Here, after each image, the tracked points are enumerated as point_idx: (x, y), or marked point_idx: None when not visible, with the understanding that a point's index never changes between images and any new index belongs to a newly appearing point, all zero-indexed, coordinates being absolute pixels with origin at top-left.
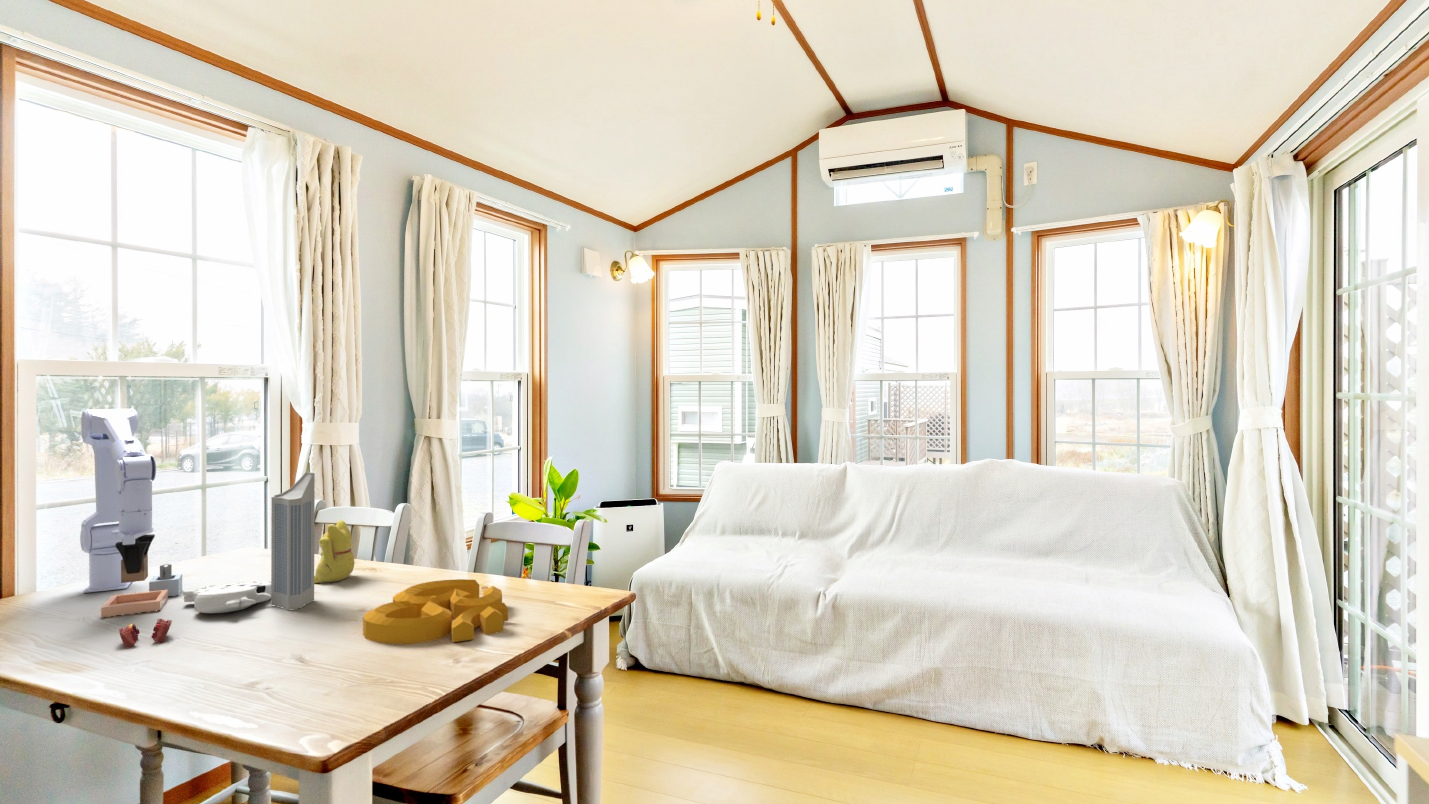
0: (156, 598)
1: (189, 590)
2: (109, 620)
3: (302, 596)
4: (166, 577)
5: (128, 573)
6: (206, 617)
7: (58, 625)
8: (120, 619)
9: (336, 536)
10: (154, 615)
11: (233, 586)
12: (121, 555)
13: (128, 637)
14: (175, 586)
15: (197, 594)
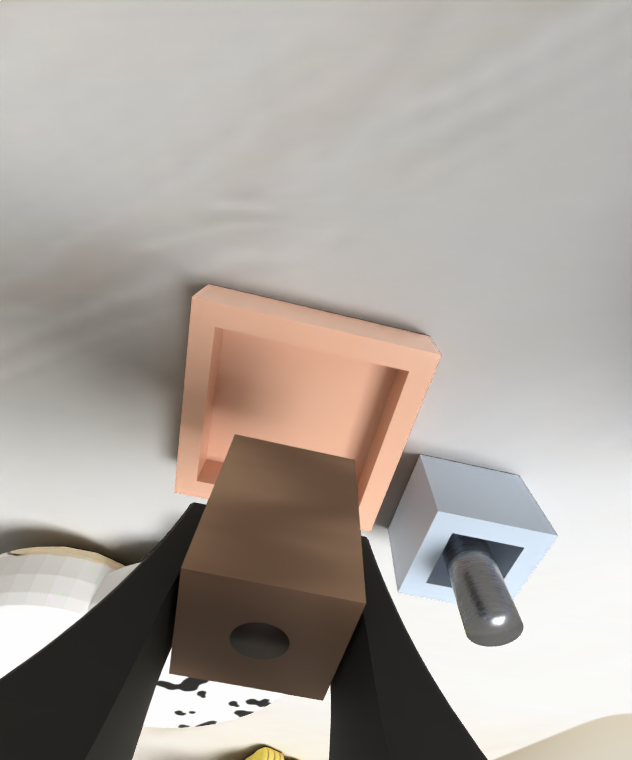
0: (360, 477)
1: None
2: (142, 310)
3: None
4: (449, 570)
5: (187, 508)
6: (20, 546)
7: (175, 98)
8: (135, 346)
9: None
10: (131, 443)
11: None
12: (67, 630)
13: None
14: (396, 555)
15: (21, 602)
